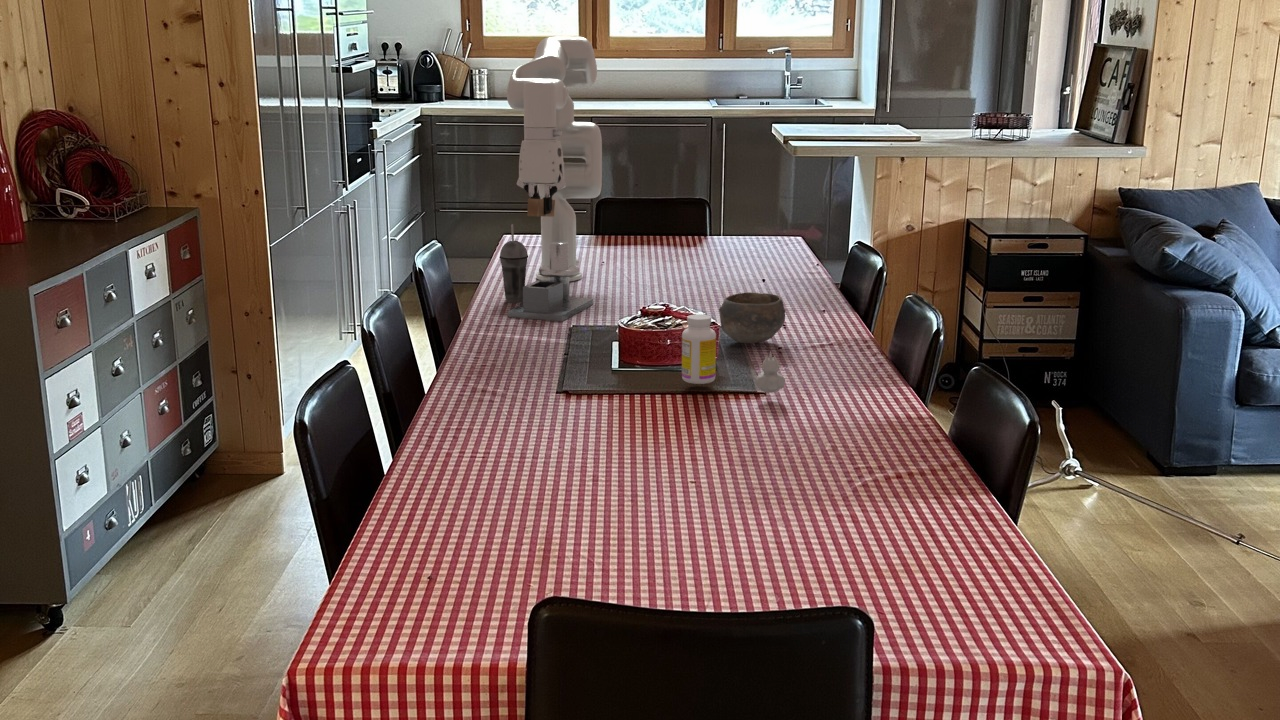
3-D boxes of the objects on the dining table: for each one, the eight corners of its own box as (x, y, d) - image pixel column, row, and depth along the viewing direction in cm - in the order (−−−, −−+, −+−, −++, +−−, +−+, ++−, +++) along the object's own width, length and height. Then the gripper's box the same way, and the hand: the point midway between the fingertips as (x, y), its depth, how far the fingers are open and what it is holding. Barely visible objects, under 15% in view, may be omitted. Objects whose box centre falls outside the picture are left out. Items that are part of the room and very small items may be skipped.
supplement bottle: (719, 377, 242) (720, 314, 238) (710, 386, 236) (711, 321, 232) (687, 374, 244) (688, 311, 241) (677, 383, 238) (678, 319, 235)
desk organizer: (542, 300, 311) (541, 238, 307) (593, 304, 306) (592, 241, 302) (508, 316, 293) (506, 251, 288) (562, 321, 288) (561, 254, 284)
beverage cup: (531, 298, 313) (530, 221, 307) (526, 304, 306) (524, 225, 300) (503, 298, 313) (501, 221, 308) (497, 304, 306) (495, 225, 301)
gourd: (780, 387, 235) (782, 347, 233) (787, 397, 229) (789, 356, 227) (753, 388, 235) (754, 348, 233) (759, 398, 228) (760, 356, 226)
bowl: (792, 337, 274) (793, 293, 271) (770, 353, 261) (771, 307, 258) (734, 330, 280) (735, 288, 277) (709, 345, 266) (710, 301, 264)
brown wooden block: (527, 215, 284) (544, 215, 293) (537, 216, 283) (554, 216, 292) (528, 198, 283) (545, 199, 293) (537, 199, 282) (555, 199, 292)
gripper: (578, 134, 284) (578, 213, 289) (516, 132, 290) (517, 209, 294) (565, 137, 278) (566, 217, 282) (502, 135, 283) (504, 213, 288)
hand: (541, 212), depth 288 cm, fingers closed on brown wooden block, 2 cm apart
